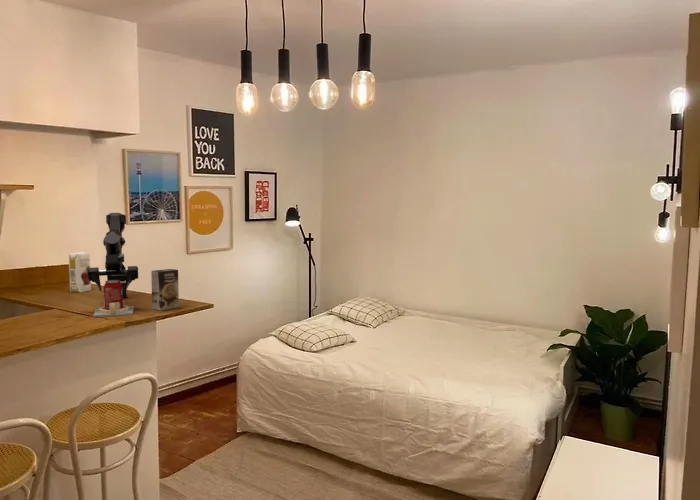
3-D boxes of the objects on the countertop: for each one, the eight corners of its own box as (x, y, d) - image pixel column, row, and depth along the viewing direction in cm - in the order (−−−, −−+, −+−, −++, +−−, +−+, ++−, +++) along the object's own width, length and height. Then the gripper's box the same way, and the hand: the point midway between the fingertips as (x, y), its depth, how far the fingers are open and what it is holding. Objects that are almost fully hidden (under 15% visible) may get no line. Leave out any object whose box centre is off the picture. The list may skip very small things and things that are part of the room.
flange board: (96, 310, 216) (96, 298, 215) (133, 307, 221) (133, 296, 220) (93, 317, 203) (92, 305, 202) (132, 314, 208) (132, 302, 207)
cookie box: (160, 310, 215) (159, 271, 214) (151, 308, 219) (150, 270, 218) (179, 307, 222) (178, 269, 221) (170, 305, 226) (169, 268, 225)
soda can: (121, 311, 209) (120, 282, 208) (103, 312, 207) (102, 282, 206) (124, 308, 216) (123, 279, 214) (106, 309, 214) (105, 280, 213)
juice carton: (67, 292, 256) (65, 253, 254) (81, 289, 264) (79, 251, 262) (80, 293, 254) (78, 253, 252) (93, 290, 262) (92, 252, 260)
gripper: (86, 247, 209) (84, 279, 200) (137, 246, 216) (137, 276, 207) (89, 264, 217) (87, 296, 208) (138, 263, 224) (138, 293, 215)
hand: (113, 290), depth 209 cm, fingers open, 9 cm apart
